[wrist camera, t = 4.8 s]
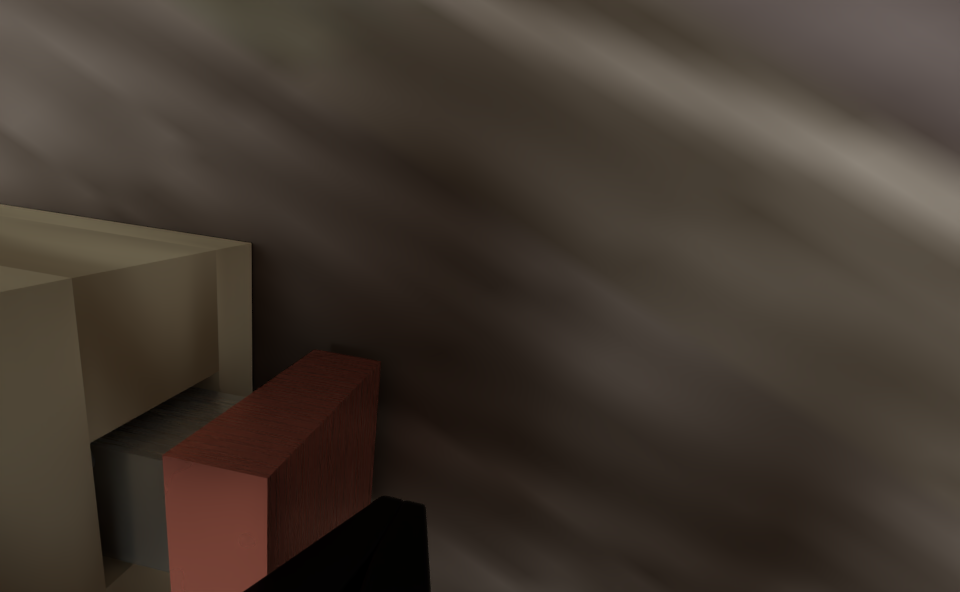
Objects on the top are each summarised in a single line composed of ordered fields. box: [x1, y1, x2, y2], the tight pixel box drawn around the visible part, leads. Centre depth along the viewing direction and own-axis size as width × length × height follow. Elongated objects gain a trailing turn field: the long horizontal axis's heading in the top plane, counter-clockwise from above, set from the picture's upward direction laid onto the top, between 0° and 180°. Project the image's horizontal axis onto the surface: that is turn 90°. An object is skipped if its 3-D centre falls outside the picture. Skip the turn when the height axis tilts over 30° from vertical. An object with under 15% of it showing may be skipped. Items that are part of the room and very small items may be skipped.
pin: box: [90, 350, 381, 592], centre depth 9 cm, size 4×12×4 cm, turn 83°
